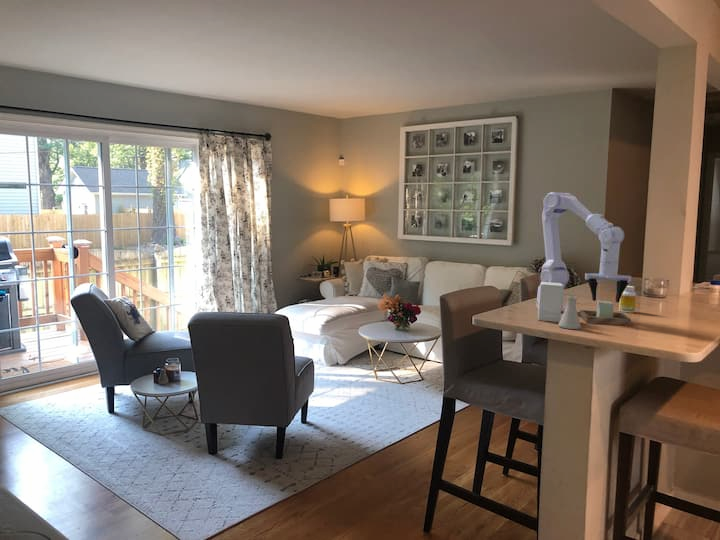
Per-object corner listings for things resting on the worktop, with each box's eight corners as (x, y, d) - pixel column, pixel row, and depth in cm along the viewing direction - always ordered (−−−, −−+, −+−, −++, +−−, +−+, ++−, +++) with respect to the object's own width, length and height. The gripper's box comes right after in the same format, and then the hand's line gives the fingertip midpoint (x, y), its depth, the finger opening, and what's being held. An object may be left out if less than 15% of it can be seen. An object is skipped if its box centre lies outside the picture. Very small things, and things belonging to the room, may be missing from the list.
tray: (586, 323, 193) (586, 316, 193) (579, 316, 204) (580, 310, 204) (630, 325, 190) (631, 319, 190) (620, 318, 202) (621, 312, 202)
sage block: (598, 320, 196) (600, 303, 195) (596, 317, 200) (597, 300, 199) (612, 321, 195) (613, 303, 194) (609, 318, 199) (610, 301, 198)
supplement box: (560, 322, 192) (563, 285, 191) (537, 320, 194) (540, 284, 193) (559, 318, 199) (562, 282, 198) (537, 316, 201) (540, 281, 200)
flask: (578, 331, 180) (581, 300, 179) (555, 327, 184) (557, 297, 183) (583, 327, 186) (585, 297, 185) (560, 323, 190) (562, 294, 189)
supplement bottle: (636, 313, 213) (638, 287, 212) (620, 312, 214) (623, 286, 213) (632, 310, 219) (634, 285, 217) (617, 309, 220) (619, 284, 218)
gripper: (589, 262, 192) (585, 301, 194) (635, 264, 190) (631, 304, 191) (585, 260, 199) (581, 298, 201) (629, 262, 197) (625, 301, 198)
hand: (605, 301), depth 197 cm, fingers open, 7 cm apart
